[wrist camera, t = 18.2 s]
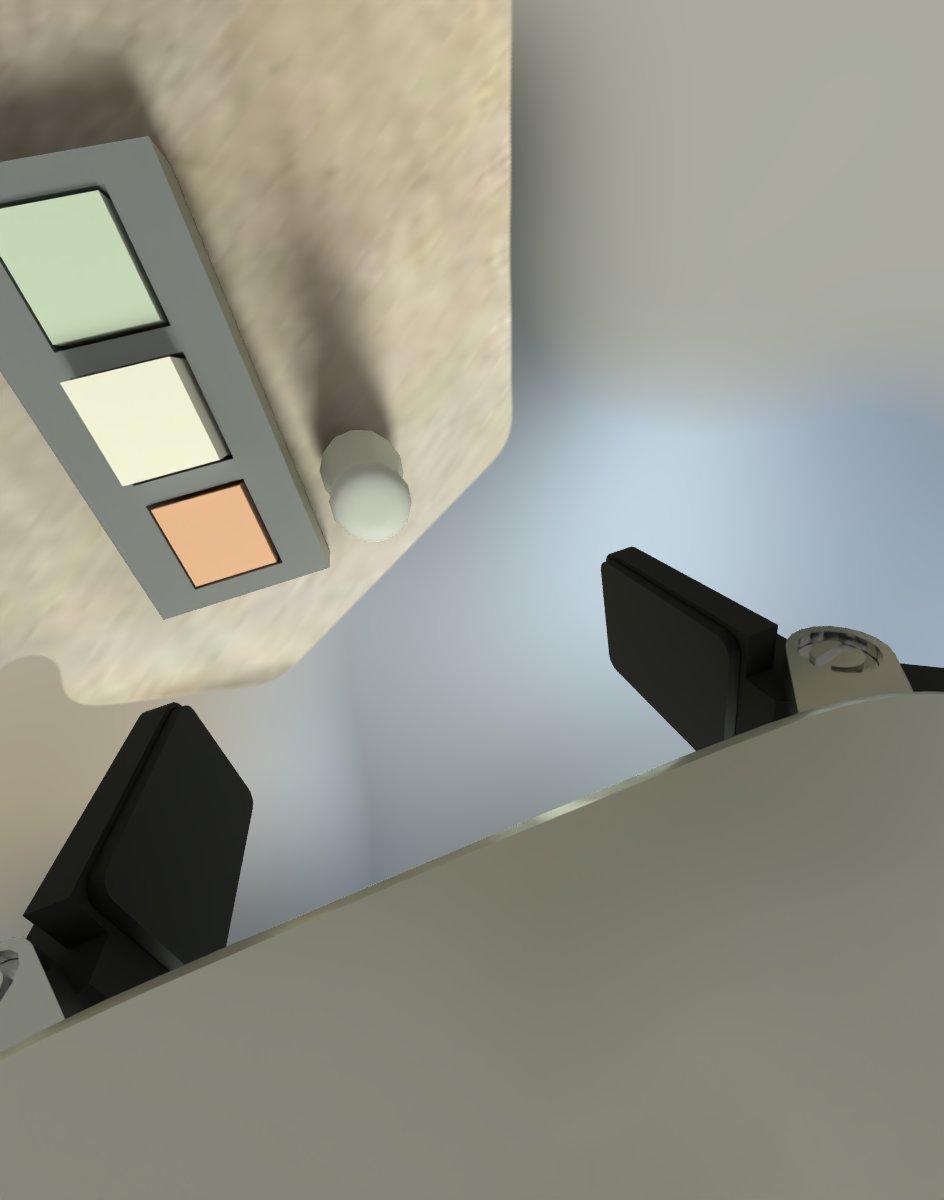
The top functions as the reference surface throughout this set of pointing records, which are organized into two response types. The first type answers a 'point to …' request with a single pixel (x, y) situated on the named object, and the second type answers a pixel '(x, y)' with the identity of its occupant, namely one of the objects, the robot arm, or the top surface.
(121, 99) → the top surface
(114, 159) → the keypad
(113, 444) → the key cream
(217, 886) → the robot arm
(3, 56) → the top surface
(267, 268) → the top surface
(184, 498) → the key terracotta
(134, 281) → the key sage
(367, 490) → the salt shaker
